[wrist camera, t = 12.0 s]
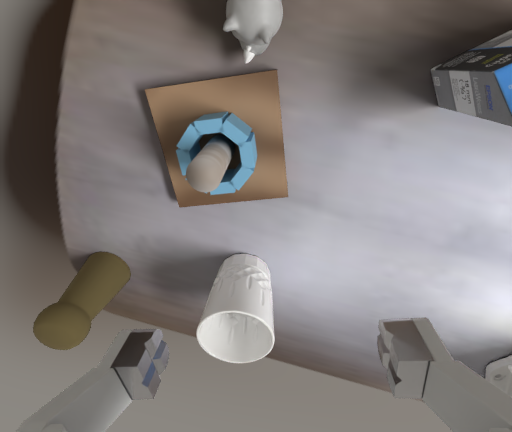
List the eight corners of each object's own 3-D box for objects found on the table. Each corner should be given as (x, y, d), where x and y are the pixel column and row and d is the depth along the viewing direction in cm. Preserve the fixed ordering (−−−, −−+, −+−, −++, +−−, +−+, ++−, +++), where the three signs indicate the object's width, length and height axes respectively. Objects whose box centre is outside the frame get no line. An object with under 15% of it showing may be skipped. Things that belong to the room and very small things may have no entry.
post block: (287, 191, 31) (292, 238, 22) (183, 201, 32) (151, 249, 24) (276, 69, 25) (277, 71, 17) (151, 88, 27) (94, 99, 18)
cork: (136, 264, 37) (88, 335, 28) (123, 292, 40) (74, 366, 30) (92, 244, 36) (25, 310, 26) (81, 274, 39) (17, 344, 29)
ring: (250, 108, 25) (247, 114, 22) (260, 176, 28) (258, 190, 25) (181, 117, 26) (168, 124, 23) (197, 182, 29) (188, 197, 26)
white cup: (270, 246, 34) (269, 308, 26) (278, 293, 38) (278, 362, 29) (209, 251, 35) (187, 313, 27) (222, 297, 39) (206, 365, 30)
